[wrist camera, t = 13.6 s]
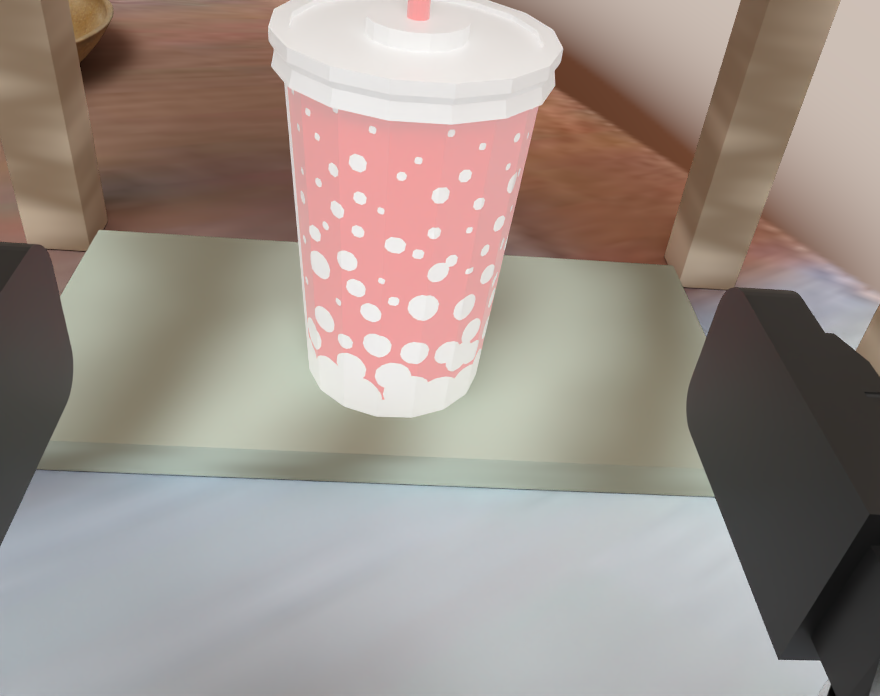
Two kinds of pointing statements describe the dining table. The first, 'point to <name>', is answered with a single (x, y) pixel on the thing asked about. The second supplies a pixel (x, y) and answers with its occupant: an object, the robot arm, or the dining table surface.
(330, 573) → the dining table surface
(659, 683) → the dining table surface
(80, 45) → the plant saucer
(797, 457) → the robot arm
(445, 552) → the dining table surface
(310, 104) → the beverage cup
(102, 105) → the dining table surface
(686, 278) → the stand
